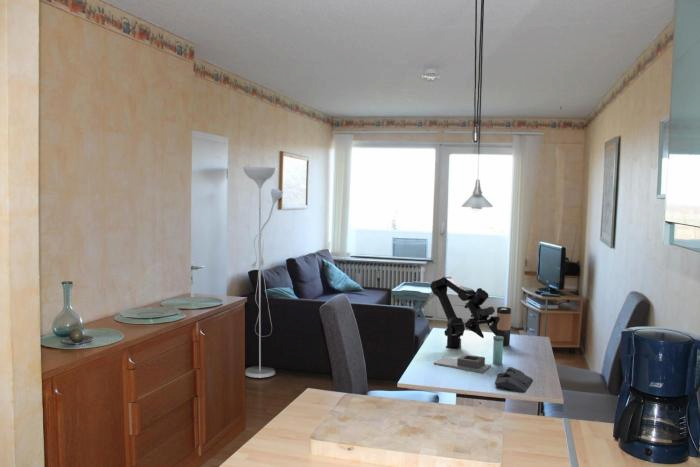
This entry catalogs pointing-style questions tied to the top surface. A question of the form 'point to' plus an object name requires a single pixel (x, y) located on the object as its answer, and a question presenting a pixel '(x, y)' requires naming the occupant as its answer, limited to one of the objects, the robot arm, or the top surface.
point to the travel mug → (504, 324)
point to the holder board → (454, 364)
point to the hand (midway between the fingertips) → (490, 336)
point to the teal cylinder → (498, 350)
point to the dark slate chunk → (513, 380)
